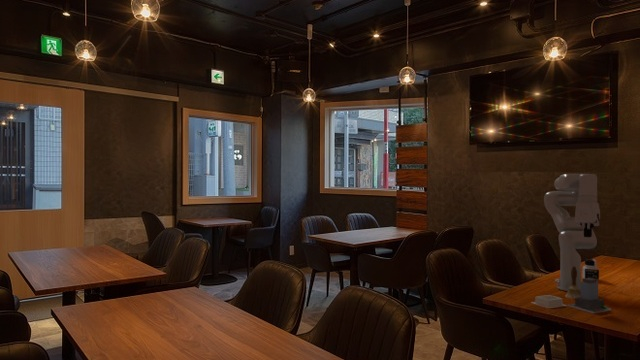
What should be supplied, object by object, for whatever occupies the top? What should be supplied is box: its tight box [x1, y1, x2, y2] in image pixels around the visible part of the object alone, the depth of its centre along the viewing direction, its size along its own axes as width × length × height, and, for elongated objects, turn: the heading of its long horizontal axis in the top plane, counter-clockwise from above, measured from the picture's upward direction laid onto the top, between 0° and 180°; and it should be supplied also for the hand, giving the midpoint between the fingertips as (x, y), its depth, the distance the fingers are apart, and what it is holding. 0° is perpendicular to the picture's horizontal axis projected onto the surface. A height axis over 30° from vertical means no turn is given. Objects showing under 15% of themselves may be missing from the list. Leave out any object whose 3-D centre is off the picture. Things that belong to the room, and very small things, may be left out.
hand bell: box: [564, 267, 581, 300], centre depth 212 cm, size 8×8×16 cm
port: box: [567, 297, 612, 314], centre depth 193 cm, size 12×12×5 cm
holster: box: [530, 294, 568, 309], centre depth 200 cm, size 10×12×4 cm
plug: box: [580, 278, 599, 301], centre depth 193 cm, size 4×6×12 cm, turn 113°
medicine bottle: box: [582, 258, 600, 282], centre depth 253 cm, size 7×7×12 cm
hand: (587, 236), depth 208 cm, fingers closed
